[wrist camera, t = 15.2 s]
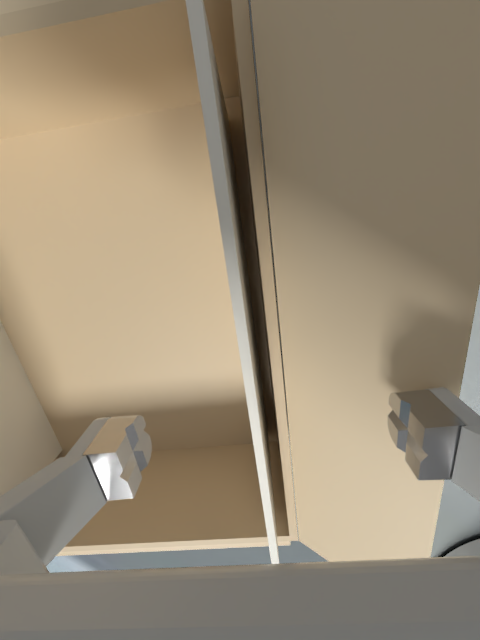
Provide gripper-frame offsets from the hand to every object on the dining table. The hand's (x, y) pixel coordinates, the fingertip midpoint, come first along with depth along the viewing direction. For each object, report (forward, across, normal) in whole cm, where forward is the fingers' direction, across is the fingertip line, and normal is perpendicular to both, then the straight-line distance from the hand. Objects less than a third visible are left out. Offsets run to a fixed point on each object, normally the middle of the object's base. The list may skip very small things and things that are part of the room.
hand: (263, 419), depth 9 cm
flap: (+4, -1, 0) cm, 4 cm away
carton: (+12, +10, 0) cm, 15 cm away
